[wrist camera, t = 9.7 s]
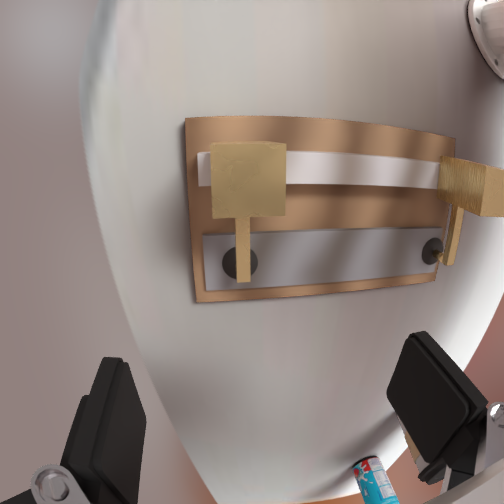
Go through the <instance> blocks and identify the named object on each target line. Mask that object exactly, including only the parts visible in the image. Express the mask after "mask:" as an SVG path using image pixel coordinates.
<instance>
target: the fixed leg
mask: <svg viewBox="0 0 504 504" xmlns="http://www.w3.org/2000/svg"><path fill="white" fill-rule="evenodd" d="M436 198H438V199H441V200H443V201H446V202H448V203H451V204H452V211H451V218H450V224H449V230H448V235H447V240H446V246H445V250H444V253H442V252H441V251H439V250H438V249H435V250H434V251H433V254H432V255H433V257H434V258H436V259H437V260H439V261H440V262H441V263H443V264H444V265H453V264H454V260H455V256H456V251H457V246H458V241H459V236H460V231H461V226H462V220H463V214H464V209H465V210H467V211H469V212H472V213H474V214H476V215H478V216H489V217H504V169H500V168H496V167H493V166H489V165H485V164H481V163H477V162H473V161H468V160H463V159H458V158H453V157H447V156H441V155H440V167H439V178H438V188H437V197H436Z"/></svg>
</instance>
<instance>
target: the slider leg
mask: <svg viewBox="0 0 504 504" xmlns="http://www.w3.org/2000/svg"><path fill="white" fill-rule="evenodd" d="M210 162H211V192H212V217H213V219H218V218H235V248H236V265H235V267H236V279H237V283H240V282H250V217H269V216H285V206H286V144H284V143H277V142H270V141H234V142H211V144H210Z"/></svg>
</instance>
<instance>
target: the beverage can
mask: <svg viewBox="0 0 504 504" xmlns="http://www.w3.org/2000/svg"><path fill="white" fill-rule="evenodd" d="M353 473H354V475H355V478H356V481H357V483H358V486H359V489H360V491H361V494H362V496H363V499H364V502H365V504H400V503H399V501H398V499H397V497H396V494H395V492H394V490H393V488H392V485H391V483H390V481H389V479H388V477H387V474H386V472H385V470H384V468H383V466H382V464H381V461H380V459H379V458H378V457H377V456H370V457H367V458H364V459H362V460H360V461H358V462H357V463H356V464H355V465H354V466H353Z"/></svg>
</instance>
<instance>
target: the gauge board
mask: <svg viewBox="0 0 504 504" xmlns="http://www.w3.org/2000/svg"><path fill="white" fill-rule="evenodd" d="M185 134H186V164H187V185H188V203H189V219H190V233H191V246H192V258H193V269H194V280H195V290H196V300H197V302H215V301H233V300H249V299H264V298H278V297H291V296H303V295H315V294H326V293H336V292H346V291H356V290H366V289H375V288H383V287H392V286H400V285H408V284H416V283H423V282H431V281H435V277H436V273H437V269H438V264H439V260H437V259H436V258H434V257H433V255H432V254H433V251H434V250H435V249H438V250H439V251H441V252H443V240H444V235H445V230H446V224H447V218H448V211H449V204H450V203H448V202H446V201H443V200H441V199H438V198H436V197H437V188H438V178H439V167H440V155H441V156H447V157H453V158H454V155H455V138H451V137H446V136H442V135H437V134H432V133H427V132H422V131H416V130H411V129H405V128H399V127H393V126H386V125H379V124H371V123H363V122H355V121H345V120H334V119H322V118H307V117H286V116H216V117H195V118H185ZM234 141H270V142H277V143H284V144H286V206H285V216H269V217H250V282H240V283H237V279H236V267H235V265H236V248H235V218H218V219H213V217H212V192H211V162H210V144H211V142H234Z"/></svg>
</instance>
